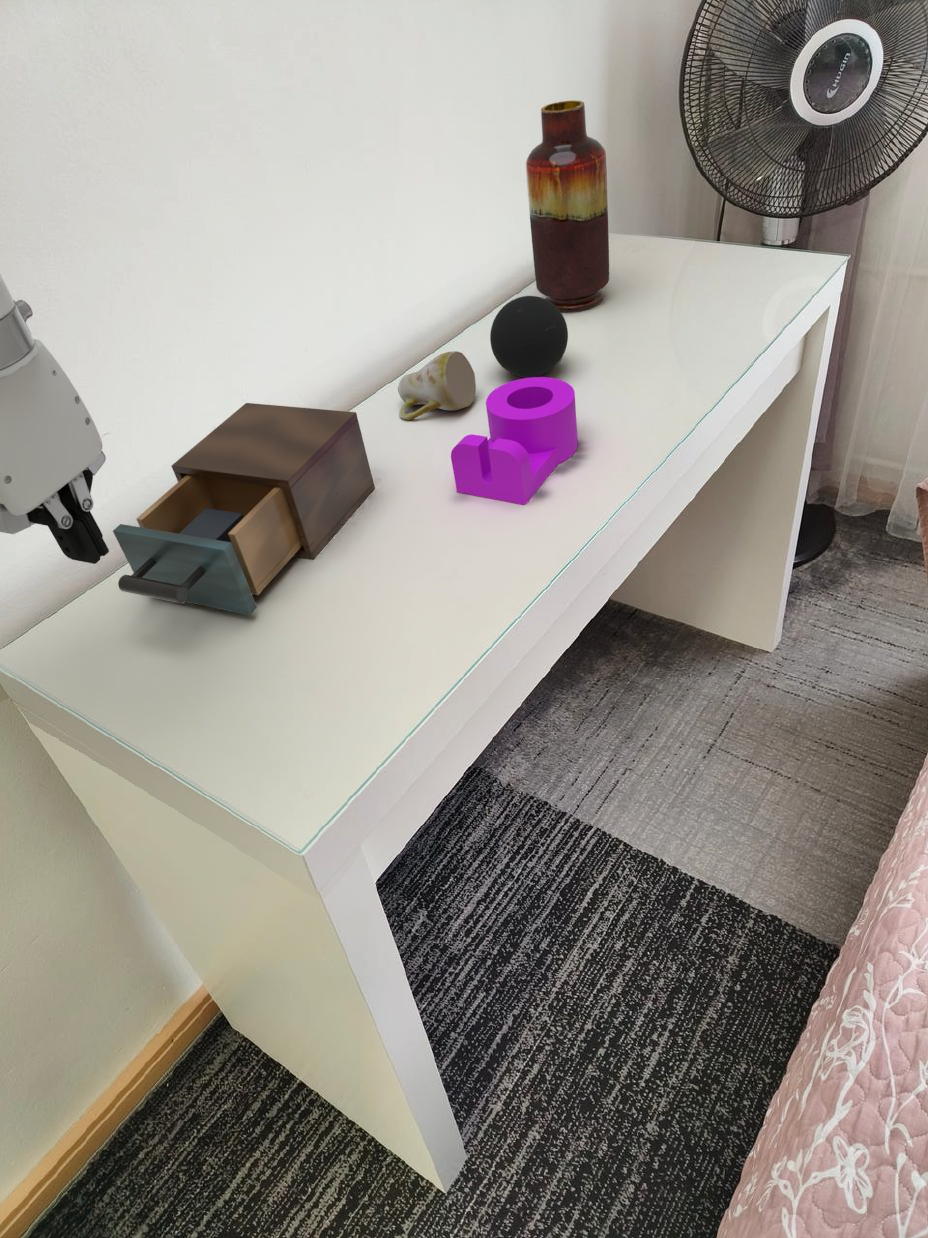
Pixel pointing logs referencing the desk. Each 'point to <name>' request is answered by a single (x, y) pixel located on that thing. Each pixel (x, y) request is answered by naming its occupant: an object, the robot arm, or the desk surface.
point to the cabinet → (291, 463)
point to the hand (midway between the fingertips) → (89, 555)
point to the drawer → (210, 544)
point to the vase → (568, 210)
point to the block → (213, 525)
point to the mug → (438, 385)
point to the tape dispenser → (518, 440)
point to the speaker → (529, 336)
